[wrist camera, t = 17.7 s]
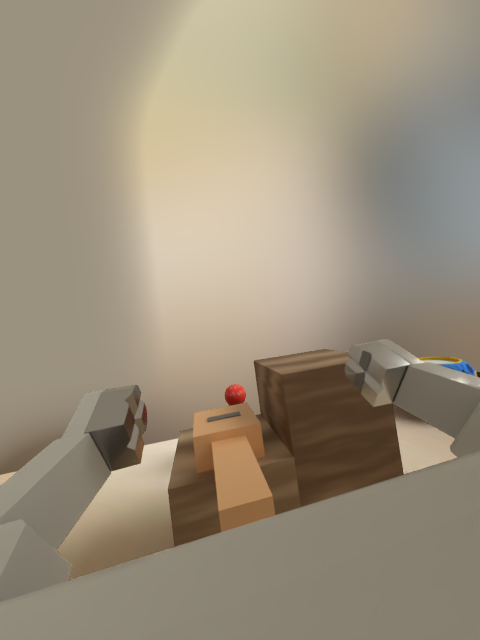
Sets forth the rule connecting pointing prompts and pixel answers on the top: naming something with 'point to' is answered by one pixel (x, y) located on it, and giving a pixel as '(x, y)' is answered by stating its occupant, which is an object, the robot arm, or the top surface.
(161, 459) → the top surface
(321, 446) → the stepped stand
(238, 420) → the tan flat block
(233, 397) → the stacking toy
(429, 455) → the top surface
